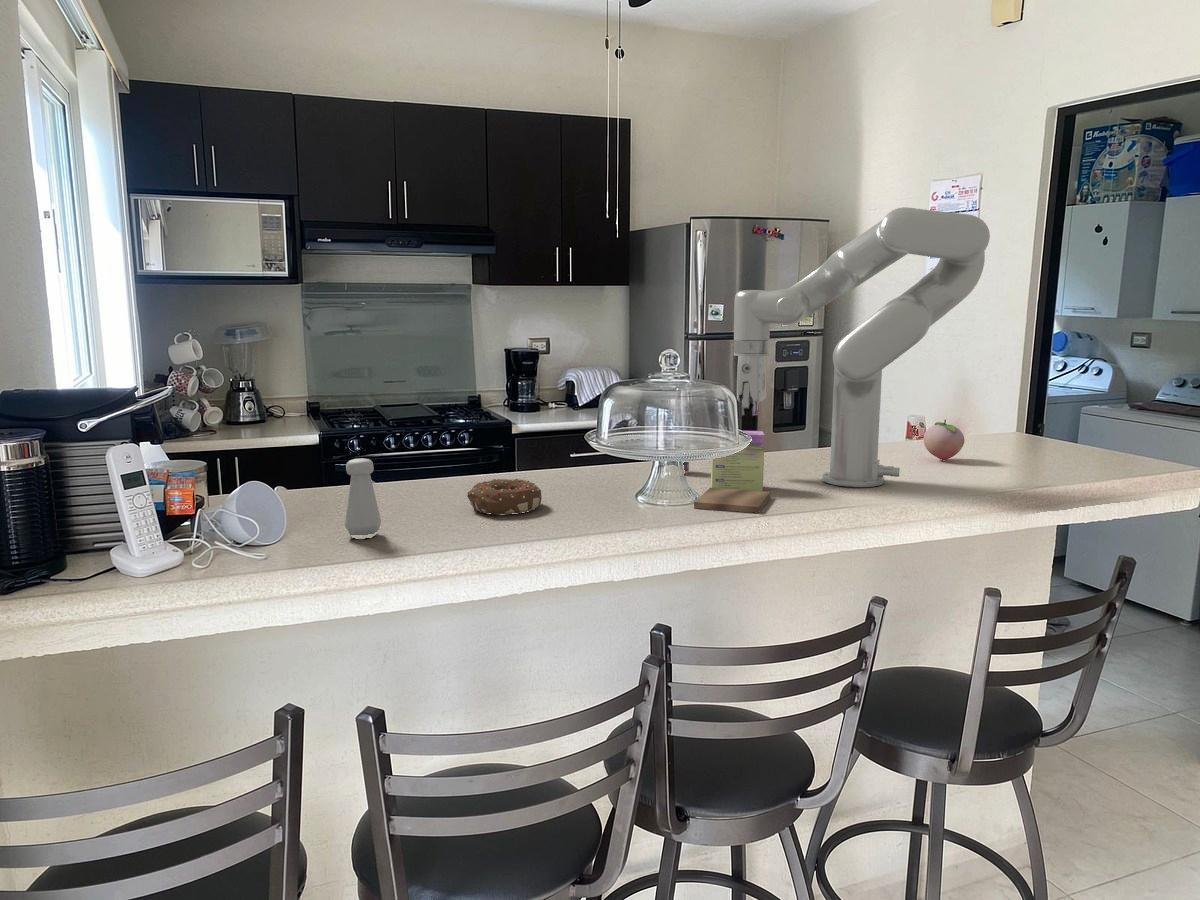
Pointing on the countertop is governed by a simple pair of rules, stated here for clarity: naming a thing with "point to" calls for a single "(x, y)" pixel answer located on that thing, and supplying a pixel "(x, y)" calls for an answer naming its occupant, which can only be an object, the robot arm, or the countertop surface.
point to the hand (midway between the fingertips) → (749, 433)
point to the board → (732, 500)
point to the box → (741, 467)
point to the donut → (505, 496)
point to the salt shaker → (361, 499)
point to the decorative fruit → (943, 440)
